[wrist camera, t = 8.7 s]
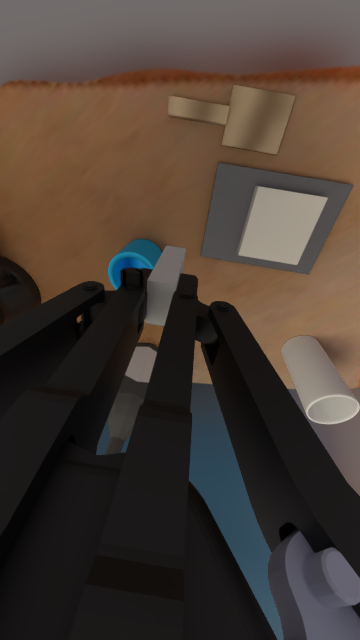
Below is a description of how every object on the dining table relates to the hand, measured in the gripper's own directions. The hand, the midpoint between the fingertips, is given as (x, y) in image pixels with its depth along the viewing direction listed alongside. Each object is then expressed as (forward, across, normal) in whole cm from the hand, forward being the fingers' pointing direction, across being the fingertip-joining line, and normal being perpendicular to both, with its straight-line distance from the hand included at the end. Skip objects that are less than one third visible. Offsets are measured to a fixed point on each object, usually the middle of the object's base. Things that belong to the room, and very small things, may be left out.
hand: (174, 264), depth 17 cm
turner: (+24, +3, +13) cm, 28 cm away
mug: (+25, -8, -11) cm, 28 cm away
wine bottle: (+25, -6, -34) cm, 43 cm away
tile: (+22, +9, +1) cm, 24 cm away
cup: (+24, +30, -24) cm, 46 cm away
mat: (+24, +13, +1) cm, 28 cm away
